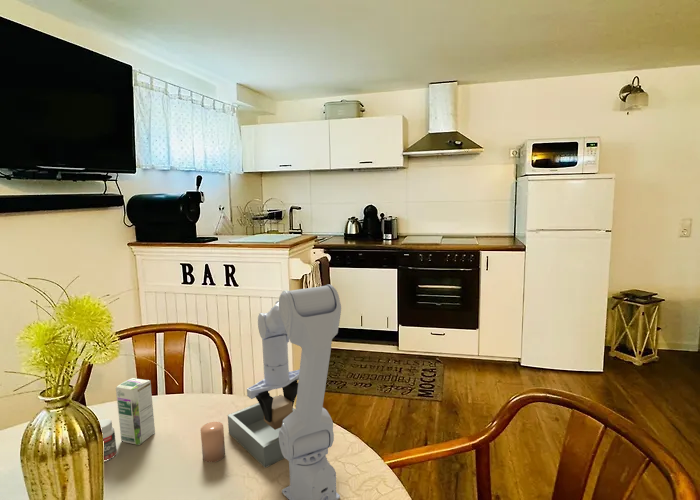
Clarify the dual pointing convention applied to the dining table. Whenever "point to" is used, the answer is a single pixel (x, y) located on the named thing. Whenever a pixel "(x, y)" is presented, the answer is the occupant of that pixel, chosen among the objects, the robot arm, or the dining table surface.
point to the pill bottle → (108, 438)
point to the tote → (255, 434)
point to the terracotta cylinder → (213, 441)
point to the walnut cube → (279, 411)
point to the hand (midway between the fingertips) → (278, 415)
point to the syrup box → (135, 410)
